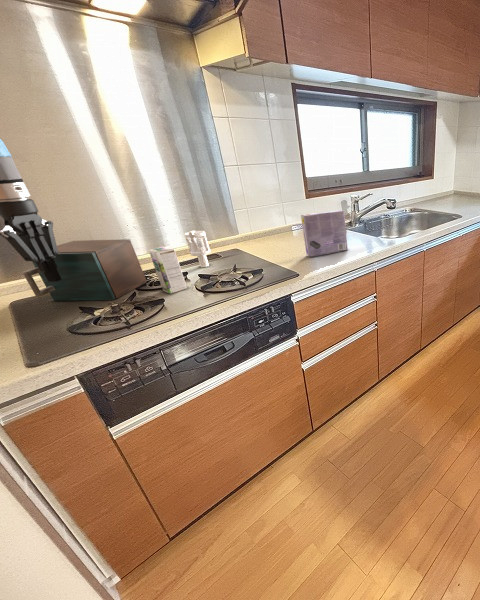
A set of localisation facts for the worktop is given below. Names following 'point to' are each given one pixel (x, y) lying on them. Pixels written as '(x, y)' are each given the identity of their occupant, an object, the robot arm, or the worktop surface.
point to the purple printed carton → (324, 233)
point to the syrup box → (168, 269)
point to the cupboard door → (74, 279)
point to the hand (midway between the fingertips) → (55, 280)
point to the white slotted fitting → (198, 246)
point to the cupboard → (112, 262)
